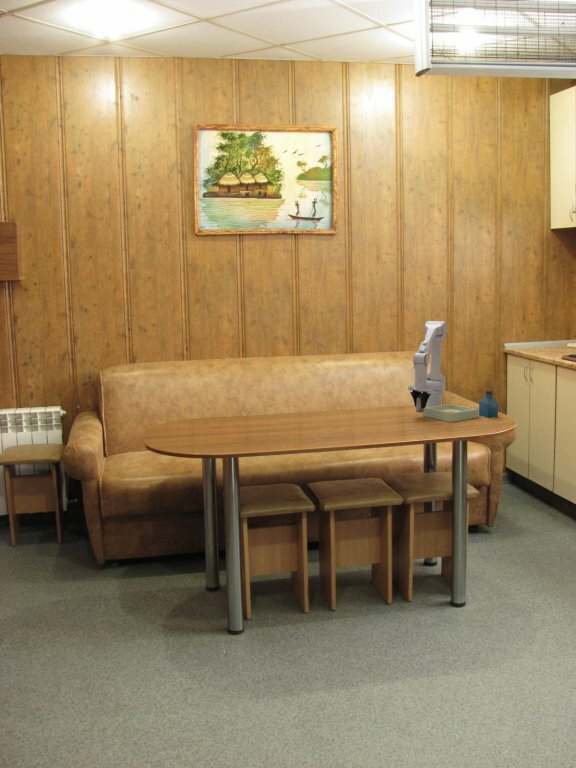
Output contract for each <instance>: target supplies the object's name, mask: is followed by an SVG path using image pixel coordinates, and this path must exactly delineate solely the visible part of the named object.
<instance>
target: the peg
mask: <svg viewBox="0 0 576 768" xmlns="http://www.w3.org/2000/svg"><path fill="white" fill-rule="evenodd" d="M415 409H416V410H415V411H416V413H423V412H424V408H421V399H420V396H417V397H416V407H415Z"/></svg>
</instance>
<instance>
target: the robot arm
mask: <svg viewBox="0 0 576 768" xmlns="http://www.w3.org/2000/svg"><path fill="white" fill-rule="evenodd" d="M424 333H425V337H424V340H423V341H421V342H420V345H419V347H418V349H417V352H415V353H414V354H413V357H412V362H413V363H412V364H413V368H414V385H408V389H407V390H408V391H410V395H411V397H412V400H413V404H414V407H415V408H416V397H417V396H420V399H421V408H425V407H432V406H439V405H442V397H443V395H442V394H443V393H444V392H445V391H446V377H445V375H443V374H442V373H441V367H442V365H441V364H442V351H443V342H444V340H445V339H447V335H448V324H447V321H446V320H443V321H442V320H441V321H438V320H426V322H424ZM429 363H430V369H429V370H430V372H429V373H428V366H429Z"/></svg>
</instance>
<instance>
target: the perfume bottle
mask: <svg viewBox="0 0 576 768" xmlns="http://www.w3.org/2000/svg"><path fill="white" fill-rule="evenodd" d="M493 394H494V393H493V391H492V390H485V394H484V395H485V397H482V399H481V400H480V401H479V403H478V404H479V407H478V416H479V415H480V416H479V417H482V416H484V417H483V418H486V417H487V419H488V418H489V419H491V418H499V403H498V401H497V399H496V398H494V397H493V396H494V395H493Z"/></svg>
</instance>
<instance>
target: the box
mask: <svg viewBox="0 0 576 768" xmlns="http://www.w3.org/2000/svg"><path fill="white" fill-rule="evenodd" d="M425 416H426V417H425ZM422 417H425V418H431V419H435V420H440V421H444V422H447V423H448V422H449V423H453V422H459V421H461V422H462V421H465V420H466V421H467V420H472V418H473V419H478V418H479V408H474V407H468V406H463V405H458V404H452V403H446V404H441V405H439V406H432V407H425V408H424V412H422ZM477 417H478V418H477Z"/></svg>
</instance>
